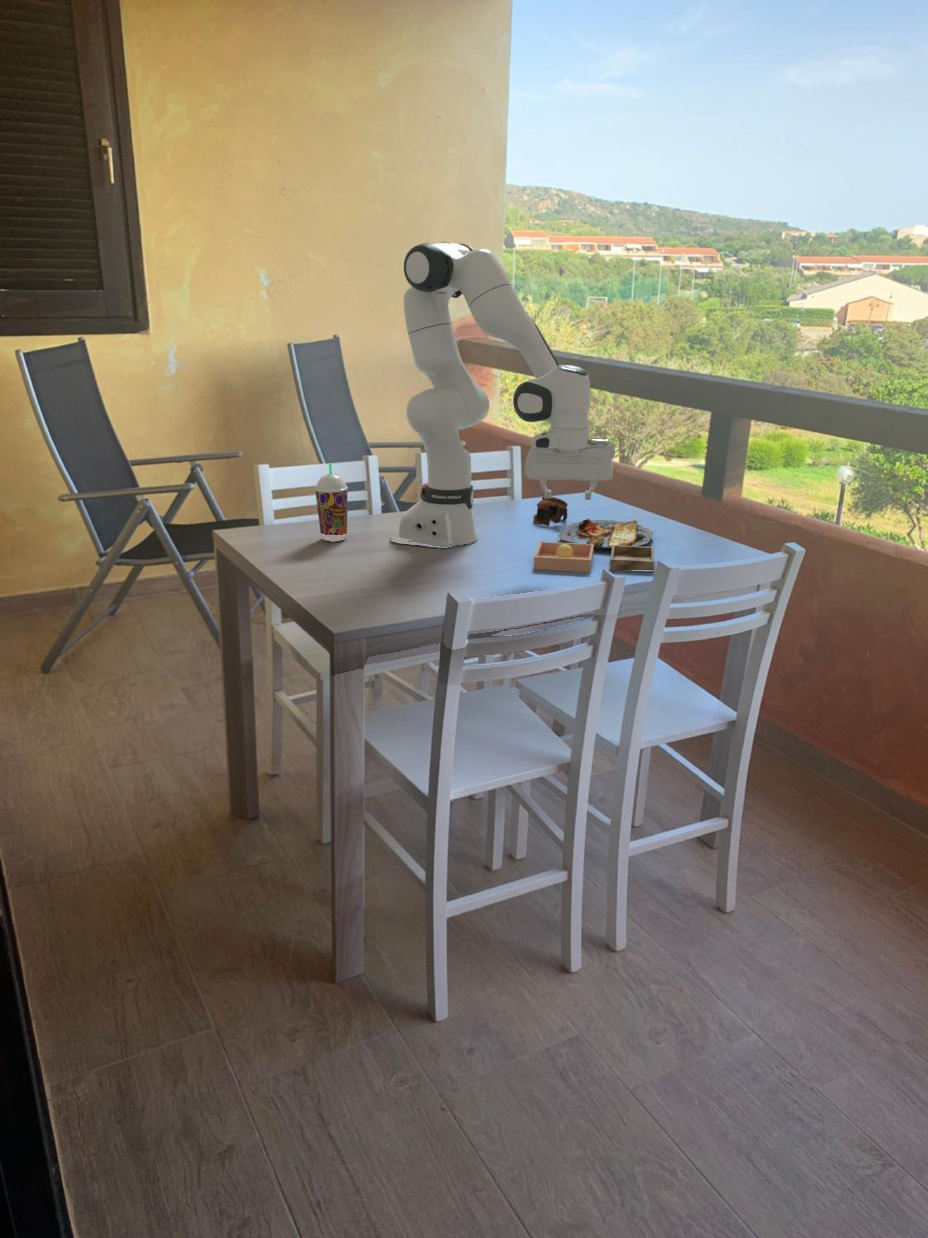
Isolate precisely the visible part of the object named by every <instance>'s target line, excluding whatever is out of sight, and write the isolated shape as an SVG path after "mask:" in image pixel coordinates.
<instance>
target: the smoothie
mask: <svg viewBox="0 0 928 1238" xmlns="http://www.w3.org/2000/svg"><path fill="white" fill-rule="evenodd" d="M328 471H329V472H328V474H324V475H323V476H321V477H320V479H319V480H318V481H317V484H316V486H315V487H314V490H315V498H316V499H315V500H316V506H317V516H318V523H319V531H320V534H321V533H322V534H325V535H343V534H346V533H347V534H348V494H349V493H348V489H349V487H348V486H347V483H346V482H345V480H344V478H342V477H341V476H339V475H338V474H335V473H333V470H332V463H331V462H330V463H328Z"/></svg>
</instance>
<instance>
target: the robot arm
mask: <svg viewBox="0 0 928 1238" xmlns="http://www.w3.org/2000/svg"><path fill="white" fill-rule="evenodd" d="M403 274H404V276H405V279H406V282H407V283H408V284H409V285H410V287H408V289H406V291H405V292H404V295H403V311H404V319H405V325H406V330H407V335H408V339H409V344H410V348H411V352H412V356H413V359H414V363H415V367H416V368H417V370H419V371H420V372H421V373H423V374H424V375H425V376H426V377H427V378H428V379H429V381H430V383H431V385H432V386H433V387H432V388H427V389H425V390H422V391H420V392H418V393H416V394H415V395H413V396H412V397H411V398H410V399H409V400H408V403H407V406H406V418H407V422H408V423H409V425H410V427H411V429H413V431H415V432H416V433H417V434H418V436H419V437H420V439H421V441H422V444H423V447H424V450H425V453H426V454H425V455H426V462H427V463H426V465H427V482H424V484H423V485H421V488H420V491H419V496H420V500H419V501H417V502H416V503H414V504H413V505H412V506H411V507H409V509H407V510H405V512H404V513H403V514H402V516H401V518H400V521H399V528H398V529H399V535H398V537H400V538H404V539H410V540H412V541H410V540H408V542H416V543H422V544H428V545H432V546H440V547H449V546H453V545H460V546H463V545H462V544H466V545H470V544H473V543H475V542H476V541H477V540H478V535H477V531H476V528H475V522H474V515H473V514H474V513H473V506H474V486H473V484H472V456H471V453H470V452H469V451H468V450H467V449H466V448H464V447H463V444H462V443H461V438H460V430H464V429H468V428H471V427H474V426H475V425H477V424H479V423H480V422H482V421H483V420H484V419H485V418H486V417H487V416H488V414H489V410H490V398H489V396H488V394H487V392H486V391H485V389H483V387H481V386H480V385H478V384H477V382H476V381H475V380H474V379H473V377H472V376H471V373H469V371H468V368H467V367H466V365H465V364H464V362H463V358H462V357H461V354H460V351H459V347H458V343H457V339H456V334H455V330H454V327H453V322H452V318H451V315H450V310H449V302H450V299H451V298H453V299H458V298H460V297H461V296H462V295H463V297H464V300H465V301H466V304H467V307H468V309H469V311H470V313H471V315H472V318H473V319H474V322H475V323H476V325H477V326H478V327H479V329H480V330H481V331H482V332H483V334H485V335H487V336H489V337H491V338H494V339H497V340H500V341H503V342H505V343H507V344H510V345H511V346H512V347H515V348H516V349H517V351H519V352H520V353H521V354H522V356H523V357H524V359H525V362H527V365H528V366H529V368H530V370H531V372H532V373H533V375H534V377H535V378H532V379H530V380H527V381H524V382H522V383H520V384H519V385H518V386H517V387H516V389H515V391H514V392H513V399H512V400H513V401H512V404H513V409H514V412H515V413H516V415H517V416H518V418H519V419H520V420H522V421H524V422H528V423H539V422H546V421H548V422H549V424H550V427H549V428H550V430H548V431H544V432H542V433H537V434H536V435H534V436H532V437H531V439H530V447H531V448H530V449H529V451H528V452H527V455H526V459H525V465H524V475H525V478H526V479H527V480H539V485H540V487H541V489H542V490H543V492H544V493H543V494H544V495H543V497H544V498H551V497H552V489H548V486H547V485H546V483H547V481H548V480H552V481H553V480H554V481H588V482H589V481H590V484H589V485H590V488H589V490H585V492H584V500H588V501H589V500H592V496H593V495H592V493H593V492H594V490H595V489H596V487H597V485H598V484H597V483H598V482H609V481H610V480H611V479H612V478H613V473H614V472H613V459H614V457H615V455H616V446H615V444H614V443H613V442H611V441H610V440H609V439H593V438H592V439H590V421H589V411H590V409H591V381H590V378H589V373H588V371H586V370H585V369H584V368H582V367H580V366H576V365H568V364H559V362H558V360H557V358H556V357H555V355H554V353H553V351H552V349H551V347H550V346H549V344H548V343H547V340H546V339H545V337H544V335H543V333H542V332H541V330H540V329H539V327H538V325H537V324H536V323H535V321H534V320H533V318H532V317H531V316H530V315H529V313H528V312H527V311H526V309H525V307H524V305H523V304H522V302H521V300H520V299H519V297H518V295H517V292H516V290H515V289H514V287H513V284H512V283H511V280H510V279H509V276H508V275H507V272H506V270H505V269H504V268H503V266H502V264H501V263H500V261H499V260H498V259H497V257H496V256H495V254H493V253H492V251H490V250H489V249H485V248H478V249H475V248H473V247H471V246H470V245H468V244H465V243H455V242H449V241H442V242H433V243H430V242H425V243H424V242H423V243H421V244H417V245H415V246H413V247H412V248H410V249H409V251H408V252H407V253H406V255H405V257H404V262H403ZM472 542H473V543H472Z"/></svg>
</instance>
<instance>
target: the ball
mask: <svg viewBox="0 0 928 1238" xmlns="http://www.w3.org/2000/svg"><path fill="white" fill-rule="evenodd" d="M556 555H557V557H558V558H571V557H572V555H573V550H572V548H571V547H570V546H569V545H567V544H562V545H560V546H559V547H558V548H557V550H556Z"/></svg>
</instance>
